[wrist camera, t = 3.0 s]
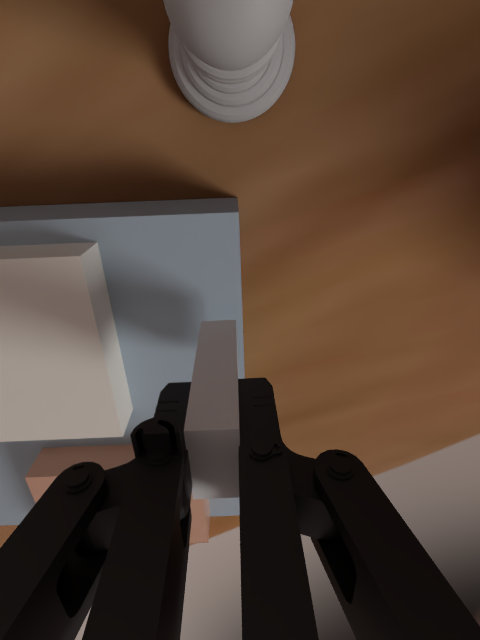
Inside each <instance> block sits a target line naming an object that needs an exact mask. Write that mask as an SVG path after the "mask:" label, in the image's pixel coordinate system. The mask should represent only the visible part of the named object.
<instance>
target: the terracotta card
mask: <svg viewBox="0 0 480 640" xmlns="http://www.w3.org/2000/svg"><path fill="white" fill-rule="evenodd" d="M133 459H135V454H134V450H133V445H132V444H126V445H103V446H79V447H55V448H42V450H41V451H40V453H39V455H38V456H37V458H36V460H35V461H34V463H33V465H32V466H31V468H30V470H29V471H28V473H27V475H26V476H25V480H26V482H27V484H28V487H29V489H30V491H31V494H32V496H33V498H34V501H35V503H37V501H38V500H39V499H40V498H41V496H42V495H43V494H44V492H45V491H46V490H47V489H48V487H49V486H50V485H51V484H52V482H53V481H54V480H55V479H56V477H57V476H58V475H59V474H61V473H62V472H63V471H64V470H65V469H67V468H69V467H70V466H72V465H74V464H78V463H81V462H95V463H98V464H100V465H101V466H102V468H103V469H104V470H107V469H111V468H114V467H117V466H120V465H123V464H125V463H128V462H130V461H131V460H133ZM190 506H191V514H192V521H191V531H190V542H189V543H205V542H206V543H207V542H208V539H209V521H210V506H209V499H194V500H193V496H192V494H191V503H190Z"/></svg>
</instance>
